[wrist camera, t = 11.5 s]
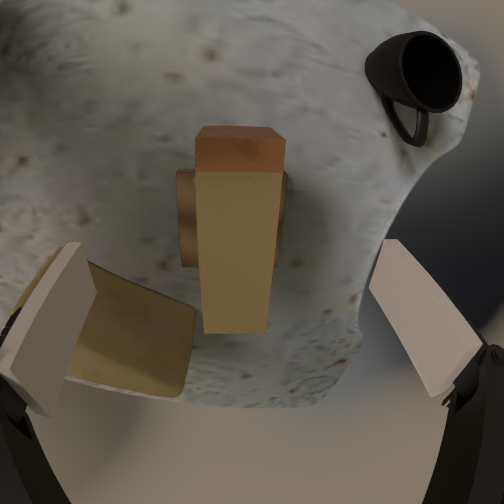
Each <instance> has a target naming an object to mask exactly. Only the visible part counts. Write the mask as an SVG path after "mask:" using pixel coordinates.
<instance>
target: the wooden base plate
mask: <svg viewBox="0 0 504 504" xmlns="http://www.w3.org/2000/svg"><path fill="white" fill-rule="evenodd" d="M286 183H287V173H286V172H285V171H283V176H282V187H281V198H280V208H279V218H278V228H277V238H276V248H275V257H274V266H273V267H277V265H278V257H279V248H280V239H281V230H282V221H283V212H284V203H285V193H286ZM176 185H177V205H178V221H179V235H180V248H181V259H182V267H199V258H198V239H197V215H196V175H195V169H186V170H178V171H177V172H176Z"/></svg>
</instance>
